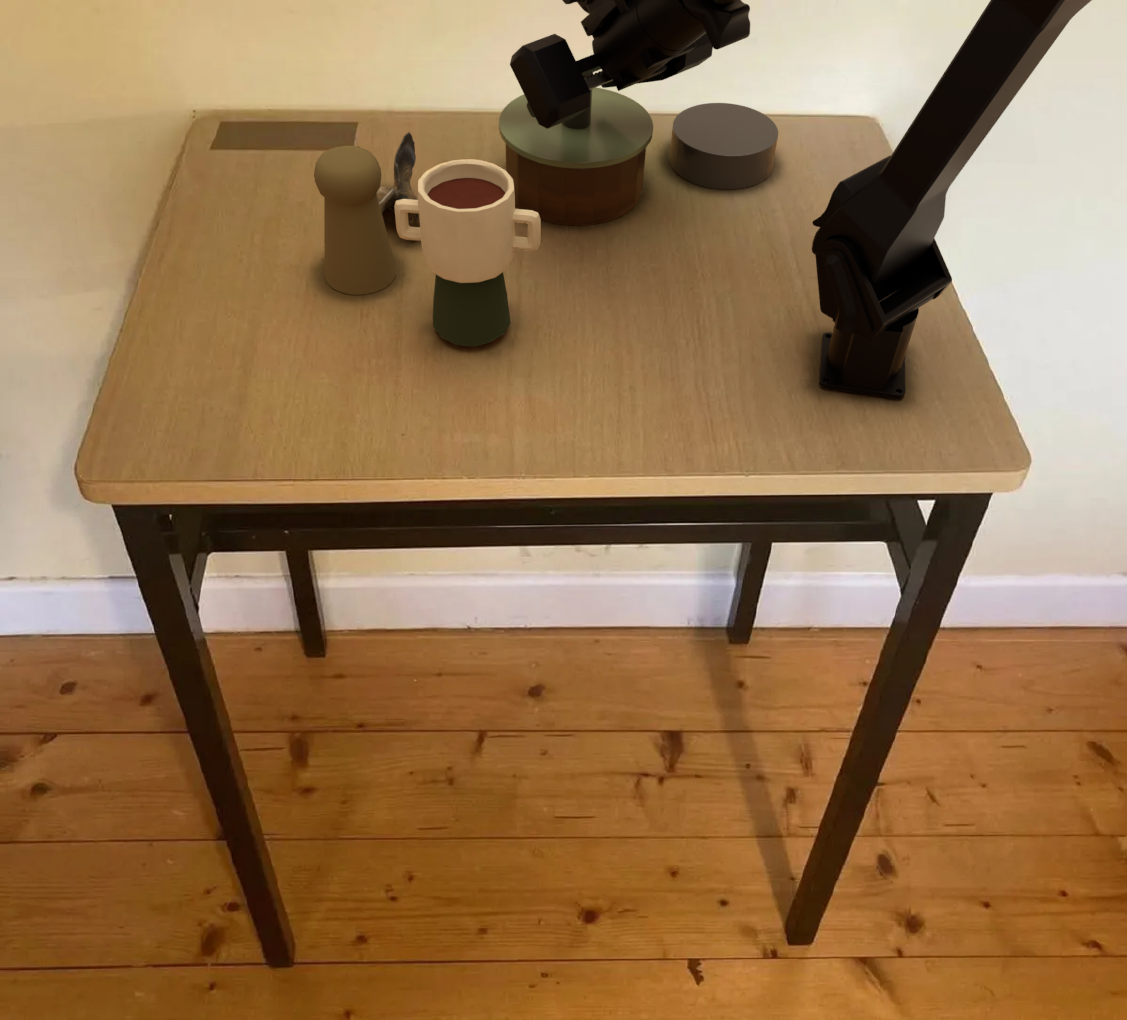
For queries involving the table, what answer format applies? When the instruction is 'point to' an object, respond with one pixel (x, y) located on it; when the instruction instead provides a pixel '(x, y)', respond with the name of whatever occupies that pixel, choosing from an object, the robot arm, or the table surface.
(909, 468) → the table surface
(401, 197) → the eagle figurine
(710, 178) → the disc
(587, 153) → the lid
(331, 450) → the table surface
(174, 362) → the table surface
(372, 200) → the brown pawn
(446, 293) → the character mug
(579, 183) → the brown round pot
